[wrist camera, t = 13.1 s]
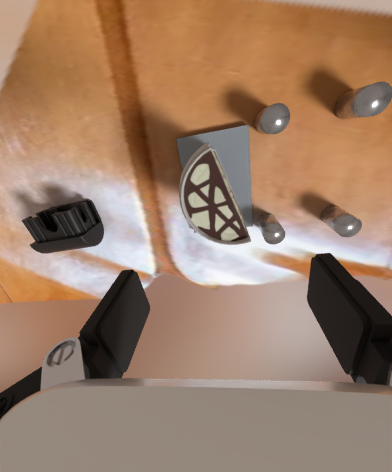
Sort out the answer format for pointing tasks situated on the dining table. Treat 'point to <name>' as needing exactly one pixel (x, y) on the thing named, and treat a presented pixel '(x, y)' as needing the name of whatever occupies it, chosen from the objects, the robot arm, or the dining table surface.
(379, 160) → the dining table surface
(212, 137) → the pad
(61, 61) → the dining table surface
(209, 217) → the food container
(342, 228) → the spacers
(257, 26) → the dining table surface
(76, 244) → the end cap
